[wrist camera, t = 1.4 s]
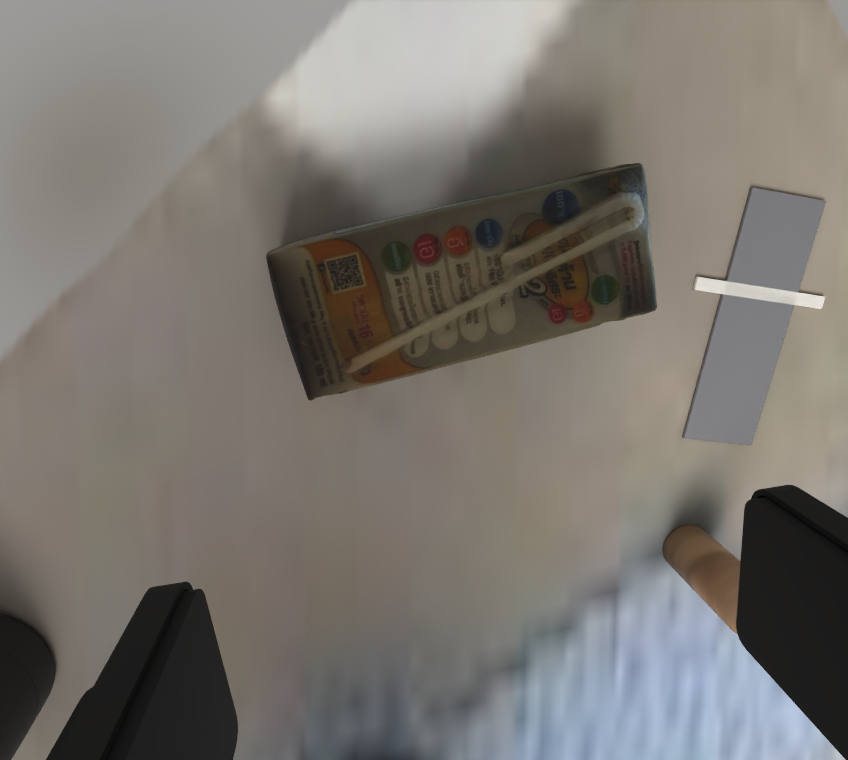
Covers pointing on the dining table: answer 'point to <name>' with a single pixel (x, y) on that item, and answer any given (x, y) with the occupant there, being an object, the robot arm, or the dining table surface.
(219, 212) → the dining table surface
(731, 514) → the dining table surface
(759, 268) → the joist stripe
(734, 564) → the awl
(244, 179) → the dining table surface
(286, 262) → the beverage carton
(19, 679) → the pen holder
